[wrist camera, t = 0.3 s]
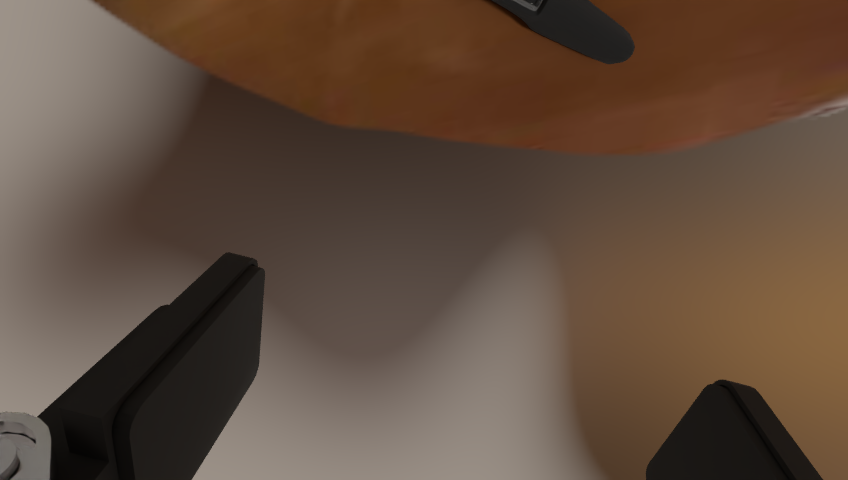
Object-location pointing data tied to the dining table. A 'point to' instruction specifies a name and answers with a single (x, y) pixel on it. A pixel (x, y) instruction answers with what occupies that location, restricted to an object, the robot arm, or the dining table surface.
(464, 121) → the dining table surface
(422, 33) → the dining table surface
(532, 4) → the electric trimmer
